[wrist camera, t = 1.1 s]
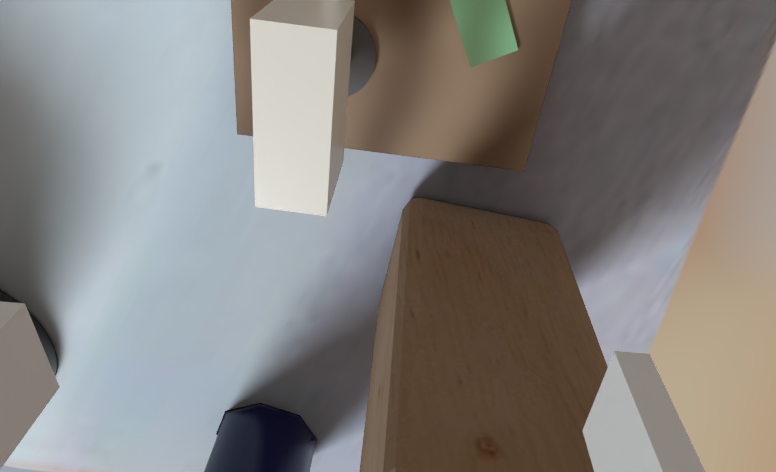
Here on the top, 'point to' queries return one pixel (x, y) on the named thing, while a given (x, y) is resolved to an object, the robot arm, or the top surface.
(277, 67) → the cream block and rod
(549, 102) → the top surface
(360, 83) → the board
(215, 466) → the bottle
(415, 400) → the wooden block
